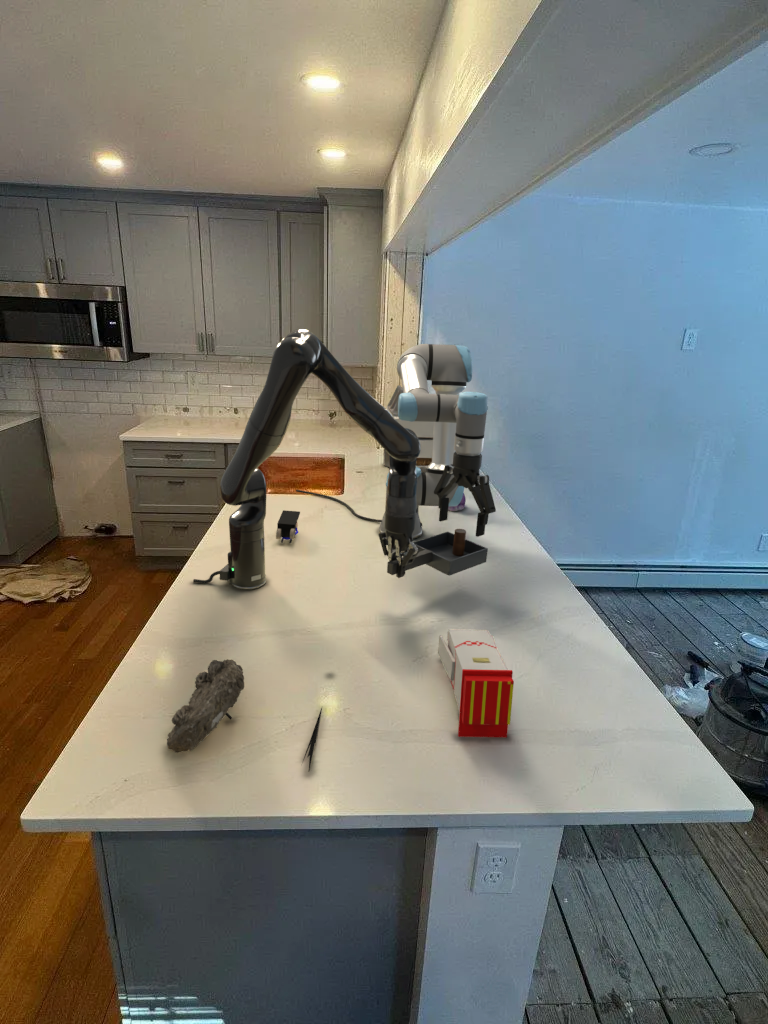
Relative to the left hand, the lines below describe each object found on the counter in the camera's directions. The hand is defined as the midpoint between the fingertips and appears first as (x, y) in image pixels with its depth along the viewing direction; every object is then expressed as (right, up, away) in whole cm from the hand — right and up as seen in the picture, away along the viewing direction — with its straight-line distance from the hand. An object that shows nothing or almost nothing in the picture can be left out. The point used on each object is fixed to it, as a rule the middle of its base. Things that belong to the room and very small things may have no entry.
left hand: (396, 574), depth 144 cm
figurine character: (-36, +7, +48) cm, 60 cm away
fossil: (-36, -23, -36) cm, 56 cm away
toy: (+15, -22, -26) cm, 37 cm away
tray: (+9, +2, +8) cm, 12 cm away
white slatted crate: (+14, +35, +131) cm, 136 cm away
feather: (-16, -24, -36) cm, 46 cm away
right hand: (+18, +12, +12) cm, 24 cm away
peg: (+18, +4, +14) cm, 23 cm away
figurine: (+25, +18, +84) cm, 90 cm away
